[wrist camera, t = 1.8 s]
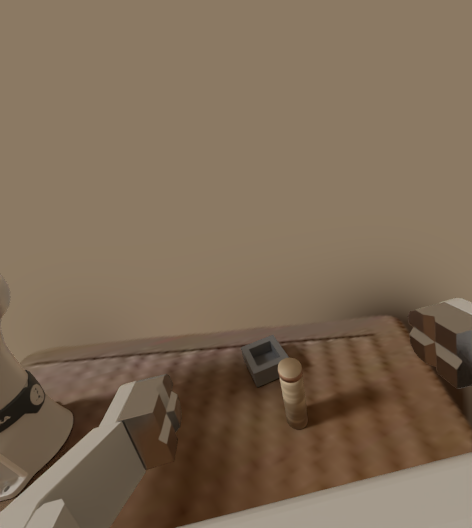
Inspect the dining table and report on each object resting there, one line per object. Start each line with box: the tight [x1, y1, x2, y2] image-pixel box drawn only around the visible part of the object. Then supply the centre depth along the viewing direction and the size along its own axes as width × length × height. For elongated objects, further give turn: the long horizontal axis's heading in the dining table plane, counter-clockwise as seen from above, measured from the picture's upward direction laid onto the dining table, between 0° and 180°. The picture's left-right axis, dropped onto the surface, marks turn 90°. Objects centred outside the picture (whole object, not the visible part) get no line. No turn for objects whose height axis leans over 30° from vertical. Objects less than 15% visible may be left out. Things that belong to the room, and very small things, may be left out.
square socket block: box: [241, 335, 289, 387], centre depth 55 cm, size 8×8×4 cm
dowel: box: [278, 358, 308, 429], centre depth 42 cm, size 4×4×13 cm
